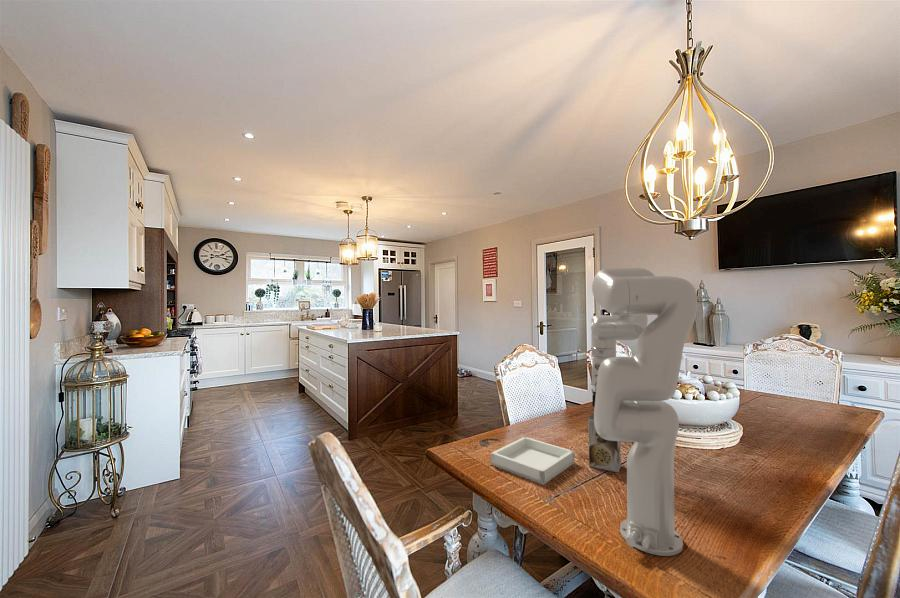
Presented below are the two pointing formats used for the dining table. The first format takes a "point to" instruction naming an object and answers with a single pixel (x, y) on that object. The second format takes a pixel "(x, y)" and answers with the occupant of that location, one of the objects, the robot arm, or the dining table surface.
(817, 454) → the dining table surface
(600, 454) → the coffee box
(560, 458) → the tray
